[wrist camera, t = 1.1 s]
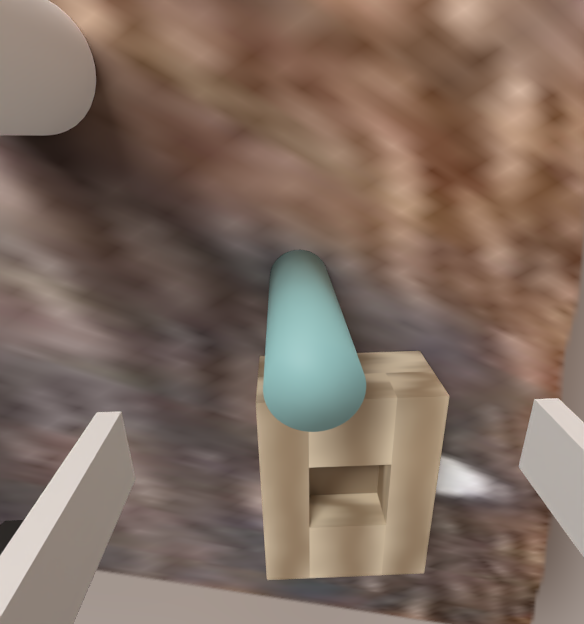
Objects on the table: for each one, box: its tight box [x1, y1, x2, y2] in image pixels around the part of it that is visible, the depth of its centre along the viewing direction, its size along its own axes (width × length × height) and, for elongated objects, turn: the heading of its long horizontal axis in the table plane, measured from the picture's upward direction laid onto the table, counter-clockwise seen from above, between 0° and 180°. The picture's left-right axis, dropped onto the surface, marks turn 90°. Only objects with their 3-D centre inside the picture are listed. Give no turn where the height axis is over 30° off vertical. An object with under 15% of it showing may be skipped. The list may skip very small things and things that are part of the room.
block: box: [256, 351, 449, 580], centre depth 32 cm, size 12×16×6 cm
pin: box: [263, 250, 366, 432], centre depth 23 cm, size 4×4×14 cm
